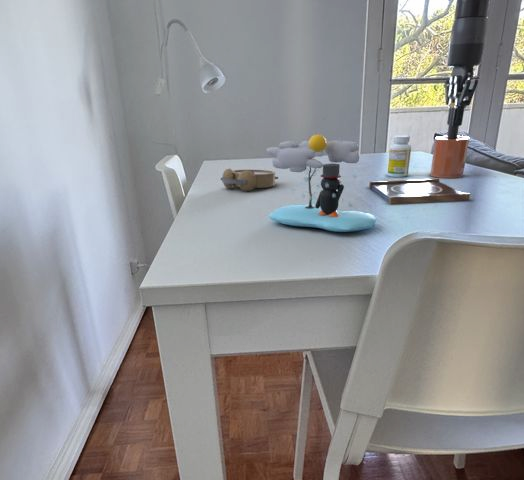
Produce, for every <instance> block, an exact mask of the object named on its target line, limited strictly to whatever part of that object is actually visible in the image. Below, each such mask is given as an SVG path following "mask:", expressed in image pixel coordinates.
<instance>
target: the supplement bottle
mask: <svg viewBox="0 0 524 480" xmlns="http://www.w3.org/2000/svg"><path fill="white" fill-rule="evenodd" d="M410 137H411V136H410V135H407V134H405V135H404V134H399V135H394V136H393V138H392V139H393V140H392V143H393V144H391V145H390V146H389V153H388V164H387V176H389V177H392V178H393V177H394V178H404V177H407V176H408V175H409V168H410V159H411V155H412V153H411V151H412V146H411V145H410V144H409V143H410V140H411V139H410Z"/></svg>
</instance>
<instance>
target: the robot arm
mask: <svg viewBox="0 0 524 480" xmlns="http://www.w3.org/2000/svg"><path fill="white" fill-rule="evenodd" d="M490 5H491V0H456V3H455V10H454V18H453V19H454V20H453V24H452V27H451V31H450V39H449V45H448V51H447V52H448V53H447V59H446V67H448V68H452V71H451V73H450V78H449V79H446V80H445V81H444V94H445V98H444V99H445V106H447V108H448V114H447V121H446V124H447V125H448V126H449V120H450V113H451V104H452V103H455V109H454V114H453V120H452V126H459V127H461V126H462V125H463V118H464V113H465V109H466V108H467V107H469V106H470V105H471V103H472V100H473V97H474V95H475V92H476V89H477V86H478V84H479V78H476V79H474V67H479V66H480V65H481V63H482V59H483V54H484V46H485V41H486V36H487V28H488V16H489V10H490Z"/></svg>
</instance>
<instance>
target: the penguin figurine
mask: <svg viewBox="0 0 524 480" xmlns="http://www.w3.org/2000/svg"><path fill="white" fill-rule="evenodd" d="M359 150H360V147H359V144H358V143H357V142H356V141H351V140H342V139H334V140H330V141H329V140H328V141H327V139H326V137H325V136H324V135H322V134H319V133H318V134H314V135H312V136H311V137H310V136H309V140H305V141H301V142H300V143H298V142H297V141H294V140H286V141H282V142H279V146H271V147H267V148H266V152H267V154H268V155H269V156H272V157H273V159H272V161H271V162H272V166H273V167H274V168H275V169H280V170H281V169H282V170H286V169H287V170H288V169H289V171H290V172H292V173H303V172H304V174H305V175H307V174H308V177H307V176H304V177H303V179H304V182H302V183H301V182H300V184H301V187H303V188H305V187H306V185H305V183H308V191H307V193H308V194H309V195H308V204H293V205H284V206H281V207H278V208H276V209H275V210H273V211H272V212H271V213H270V214H269V215H268V217H269V218H270V220H272V221H274V222H277V223H279V224H282V225H287V226H294V227H302V228H303V227H304V228H316V229H321V230H325V231H329V232H335V233H336V232H337V233H350V232H356V231H363V230H367V229H370V228H372V227H374V226H375V224H376V223H377V218H376V217H375V215H373V214H372V213H368V212H364V211H360V210H359V211H358V210H340V211H339V210H338V208H339V201H340V202H341V203H343V202H344V198H341V197H342V194H343V191H344V189H345V185H344V183H343V184H342V179H340V178H341V177H342V175H341V174H340V168H341V167H340V164H341V163H342V162H343V163H346V164H357V163H358V162H359V161H360V154H359V153H358V152H356V151H359ZM324 152H325V153H326V154H327V158H328V161H329V162H330V163H322V162H321V161H320V160H318V159H316V157H323V156H324ZM339 163H340V164H339ZM308 168H309V169H308ZM321 168H322V174H321V175H320V178H322V179H321V181H320V184H319V183H318V182H317V183H316V184H315V188H316V189H317V190H318V188H321V190H320V191H319V193H318V197H317V196H316V191H314V193H313V194H312V185H311V180H312V177H315V176H316V175H318V174H317V172H318V171H319V172H321V170H319V169H321ZM312 169H313V170H312ZM316 169H317V170H316ZM353 179H355V180H357V179H358V175H353ZM295 191H296V190H295V189H294V187H292V188H290V192H291V194H295V193H296V192H295ZM304 193H305V192H303V193H301V194H300V195H301V198H302V199H305V198H306V194H304ZM312 202H313V203H314V204H313V203H312ZM347 206H349V207H352V206H353V203H351V202H350V201H349V202H348V205H347Z"/></svg>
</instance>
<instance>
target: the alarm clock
mask: <svg viewBox="0 0 524 480" xmlns="http://www.w3.org/2000/svg"><path fill="white" fill-rule="evenodd" d="M276 180H279V176H276V171H273V170H267V169H234V170H232V168H226V169H225V170H224V171H223V172H222V176H221V177H220V181H222V184H223V185H224V186H225V188H226V189H228V190H231V189H233V187H239V189H240V190H242V191H244V192H250V191H253V190H254V189H257V188H271V187H275V186H276Z"/></svg>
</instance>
